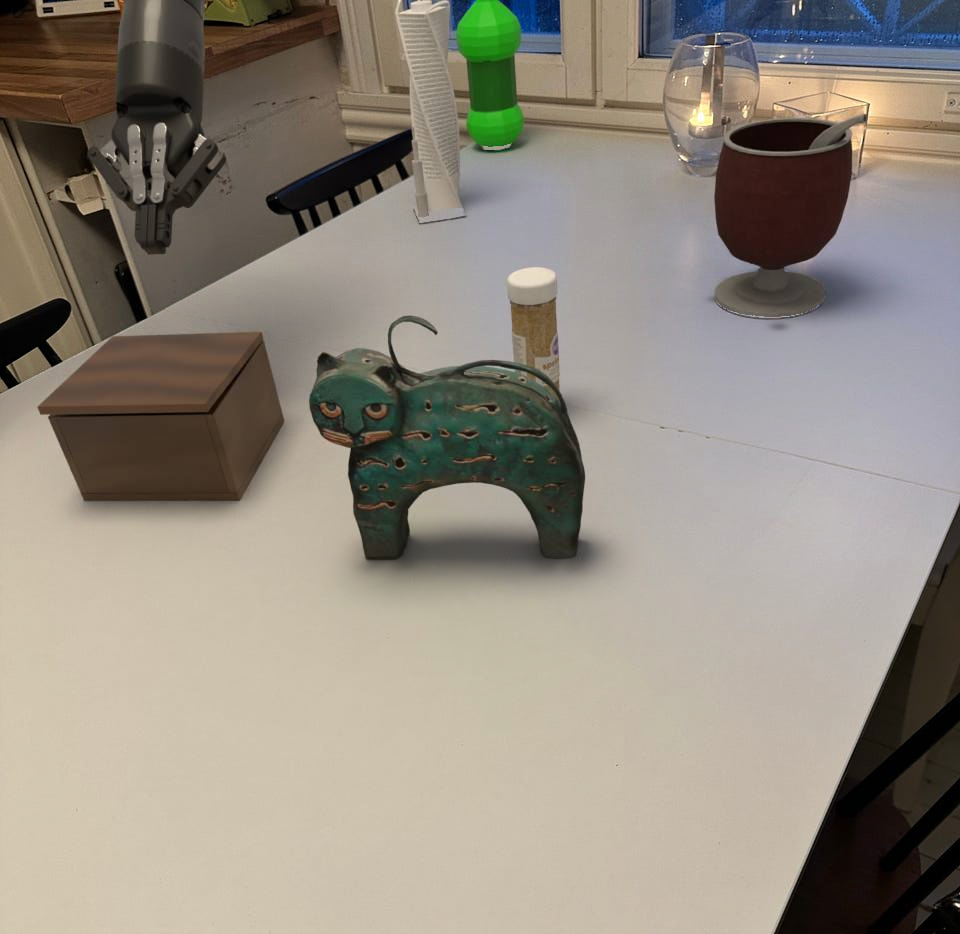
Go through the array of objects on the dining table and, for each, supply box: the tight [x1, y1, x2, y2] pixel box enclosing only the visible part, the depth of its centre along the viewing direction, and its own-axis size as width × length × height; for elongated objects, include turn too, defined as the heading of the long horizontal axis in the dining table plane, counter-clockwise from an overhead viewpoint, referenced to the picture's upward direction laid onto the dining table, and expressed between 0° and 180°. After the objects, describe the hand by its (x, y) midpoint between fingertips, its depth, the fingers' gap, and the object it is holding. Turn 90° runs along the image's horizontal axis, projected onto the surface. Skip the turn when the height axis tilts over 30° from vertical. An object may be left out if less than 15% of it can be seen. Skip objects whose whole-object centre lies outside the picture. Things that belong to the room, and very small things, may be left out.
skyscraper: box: [394, 0, 467, 225], centre depth 134 cm, size 8×8×28 cm
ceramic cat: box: [308, 315, 586, 560], centre depth 73 cm, size 20×6×20 cm, turn 82°
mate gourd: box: [713, 113, 868, 320], centre depth 103 cm, size 16×14×20 cm
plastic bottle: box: [455, 0, 525, 152], centre depth 158 cm, size 10×10×25 cm
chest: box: [47, 339, 285, 501], centre depth 92 cm, size 15×16×9 cm
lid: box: [36, 331, 264, 416], centre depth 88 cm, size 15×16×1 cm
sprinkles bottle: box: [506, 266, 561, 402], centre depth 91 cm, size 5×5×13 cm
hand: (152, 250), depth 87 cm, fingers closed
